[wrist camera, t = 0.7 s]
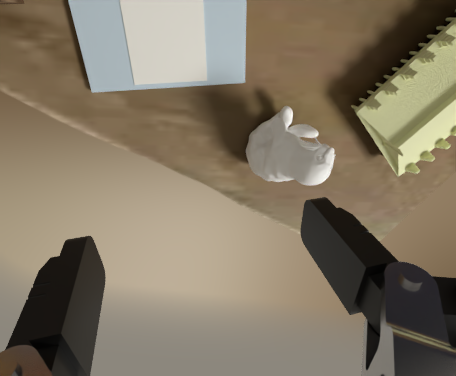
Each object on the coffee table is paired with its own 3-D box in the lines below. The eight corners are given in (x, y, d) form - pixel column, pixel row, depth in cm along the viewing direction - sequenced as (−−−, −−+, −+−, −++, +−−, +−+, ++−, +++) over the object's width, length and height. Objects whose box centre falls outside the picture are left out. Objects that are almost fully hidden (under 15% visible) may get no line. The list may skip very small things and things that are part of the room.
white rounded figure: (231, 151, 37) (262, 202, 27) (273, 96, 34) (325, 129, 24) (266, 173, 40) (305, 227, 30) (307, 124, 37) (365, 163, 27)
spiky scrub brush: (504, -54, 32) (585, -70, 26) (521, 42, 39) (588, 47, 33) (329, 109, 37) (364, 127, 31) (371, 168, 44) (406, 192, 38)
